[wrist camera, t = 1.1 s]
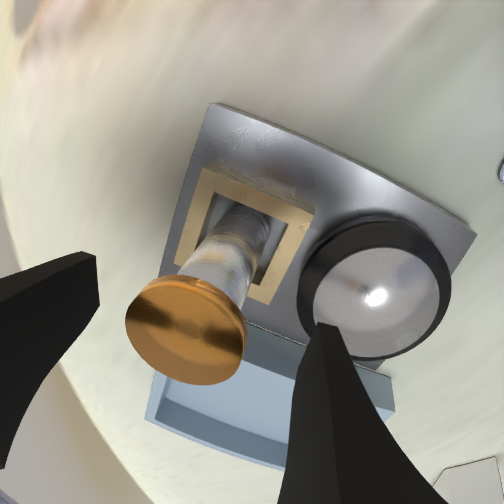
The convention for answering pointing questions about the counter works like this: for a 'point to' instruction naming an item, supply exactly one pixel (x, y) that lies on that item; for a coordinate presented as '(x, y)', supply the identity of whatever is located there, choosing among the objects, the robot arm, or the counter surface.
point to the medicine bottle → (471, 483)
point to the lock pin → (201, 304)
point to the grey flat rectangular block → (321, 237)
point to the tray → (248, 402)
